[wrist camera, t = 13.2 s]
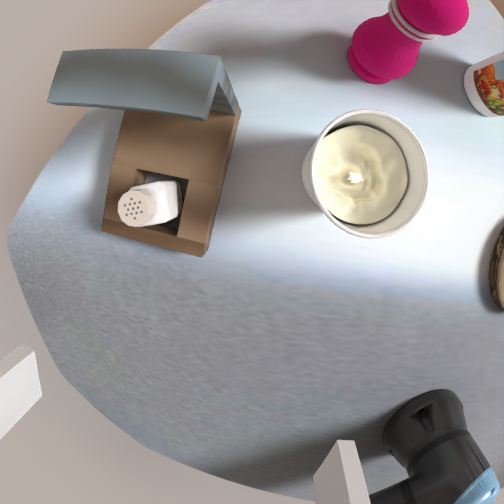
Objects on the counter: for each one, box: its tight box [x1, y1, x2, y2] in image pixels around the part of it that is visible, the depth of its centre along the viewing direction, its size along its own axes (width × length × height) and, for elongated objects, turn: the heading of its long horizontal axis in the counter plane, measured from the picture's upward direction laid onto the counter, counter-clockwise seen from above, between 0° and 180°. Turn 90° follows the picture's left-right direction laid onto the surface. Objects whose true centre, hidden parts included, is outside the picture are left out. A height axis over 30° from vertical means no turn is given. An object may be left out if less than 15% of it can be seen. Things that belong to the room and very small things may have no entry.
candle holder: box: [302, 109, 430, 238], centre depth 26 cm, size 10×10×12 cm
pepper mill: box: [348, 0, 469, 84], centre depth 19 cm, size 7×7×20 cm
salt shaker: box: [118, 180, 183, 227], centre depth 29 cm, size 4×4×10 cm
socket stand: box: [47, 49, 241, 257], centre depth 25 cm, size 16×12×16 cm
